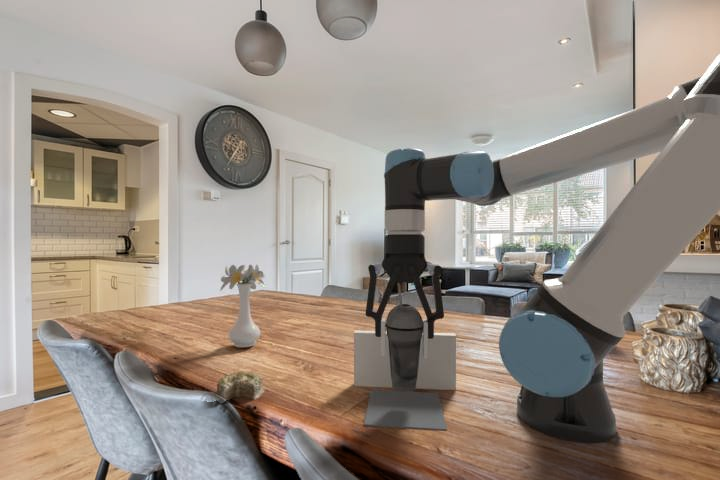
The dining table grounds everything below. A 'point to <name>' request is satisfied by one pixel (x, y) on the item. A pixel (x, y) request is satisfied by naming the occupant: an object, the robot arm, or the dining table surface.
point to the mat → (405, 410)
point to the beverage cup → (404, 344)
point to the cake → (240, 385)
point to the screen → (431, 370)
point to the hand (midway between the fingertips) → (404, 354)
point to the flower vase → (243, 303)
